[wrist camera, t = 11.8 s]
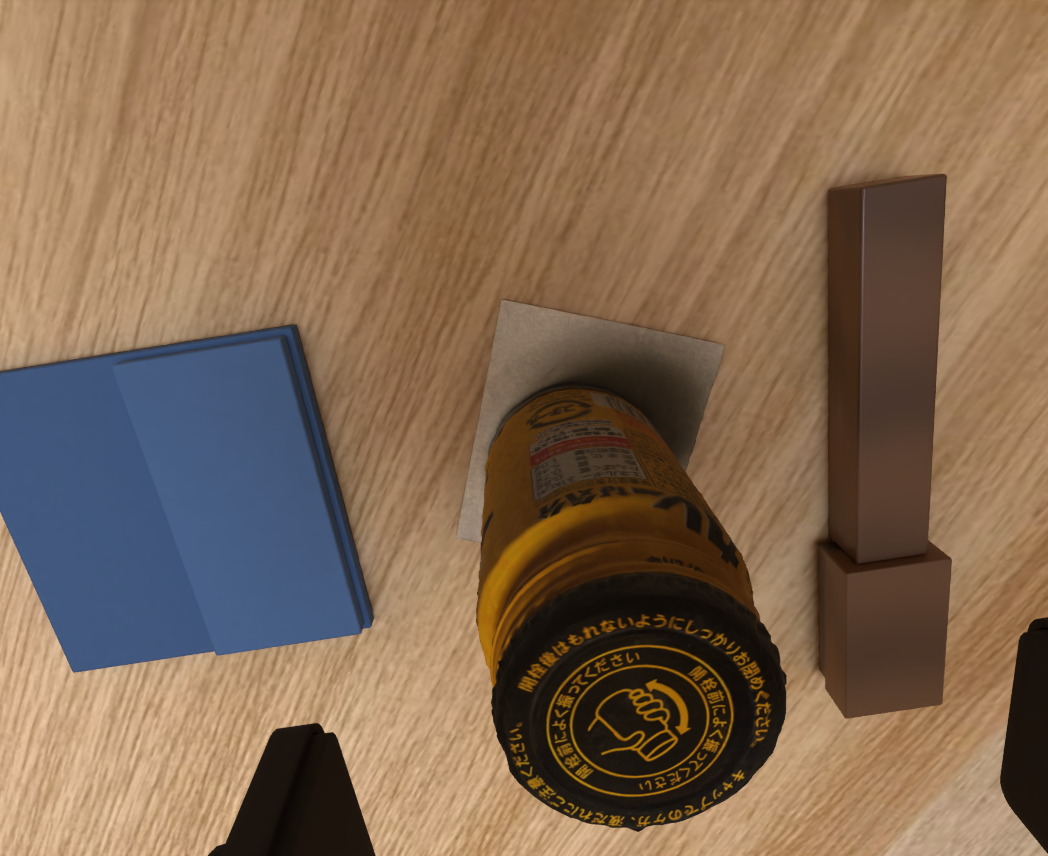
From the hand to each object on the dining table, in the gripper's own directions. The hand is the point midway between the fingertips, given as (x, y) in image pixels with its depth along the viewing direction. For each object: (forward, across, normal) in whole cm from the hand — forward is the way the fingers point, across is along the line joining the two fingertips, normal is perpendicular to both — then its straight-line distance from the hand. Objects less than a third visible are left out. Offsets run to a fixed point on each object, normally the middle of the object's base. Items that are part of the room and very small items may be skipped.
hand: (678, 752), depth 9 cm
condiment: (+14, 0, +1) cm, 14 cm away
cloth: (+14, +14, +1) cm, 20 cm away
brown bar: (+14, -10, +3) cm, 17 cm away
